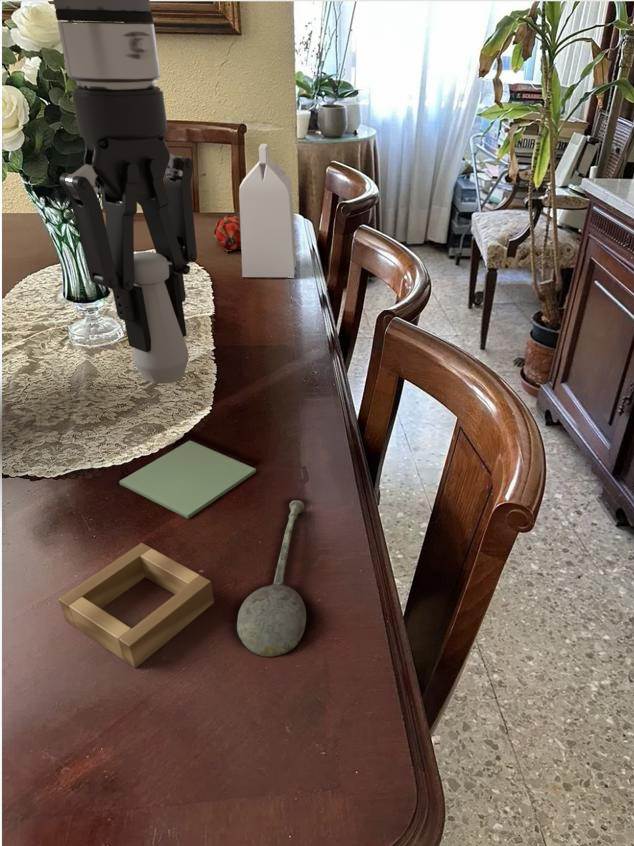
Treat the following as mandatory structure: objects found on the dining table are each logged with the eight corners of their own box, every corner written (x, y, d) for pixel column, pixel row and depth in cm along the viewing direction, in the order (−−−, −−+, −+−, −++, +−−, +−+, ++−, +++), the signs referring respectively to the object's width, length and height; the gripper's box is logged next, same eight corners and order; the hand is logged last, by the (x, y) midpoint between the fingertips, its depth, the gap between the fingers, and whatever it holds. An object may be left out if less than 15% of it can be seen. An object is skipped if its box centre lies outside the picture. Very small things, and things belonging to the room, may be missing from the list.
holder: (65, 621, 64) (58, 598, 62) (146, 563, 71) (141, 542, 69) (135, 668, 59) (129, 646, 58) (214, 602, 66) (211, 581, 65)
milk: (247, 262, 157) (238, 140, 142) (296, 262, 158) (292, 141, 143) (242, 278, 147) (231, 150, 132) (294, 279, 148) (289, 151, 133)
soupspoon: (230, 659, 61) (300, 665, 61) (228, 635, 59) (301, 642, 59) (270, 508, 79) (325, 513, 79) (270, 486, 77) (326, 491, 77)
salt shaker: (202, 371, 73) (187, 252, 66) (169, 392, 69) (149, 267, 62) (159, 360, 75) (140, 244, 68) (125, 380, 71) (100, 258, 64)
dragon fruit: (239, 248, 172) (235, 269, 163) (210, 228, 168) (204, 249, 159) (256, 222, 167) (253, 242, 159) (227, 201, 164) (222, 221, 155)
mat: (119, 484, 83) (118, 481, 82) (190, 443, 91) (189, 440, 90) (188, 519, 77) (187, 515, 77) (256, 472, 85) (256, 468, 85)
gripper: (55, 93, 49) (115, 379, 62) (219, 81, 61) (240, 324, 74) (-3, 86, 52) (66, 358, 66) (163, 76, 64) (192, 309, 77)
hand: (158, 340), depth 70 cm, fingers closed on salt shaker, 4 cm apart
